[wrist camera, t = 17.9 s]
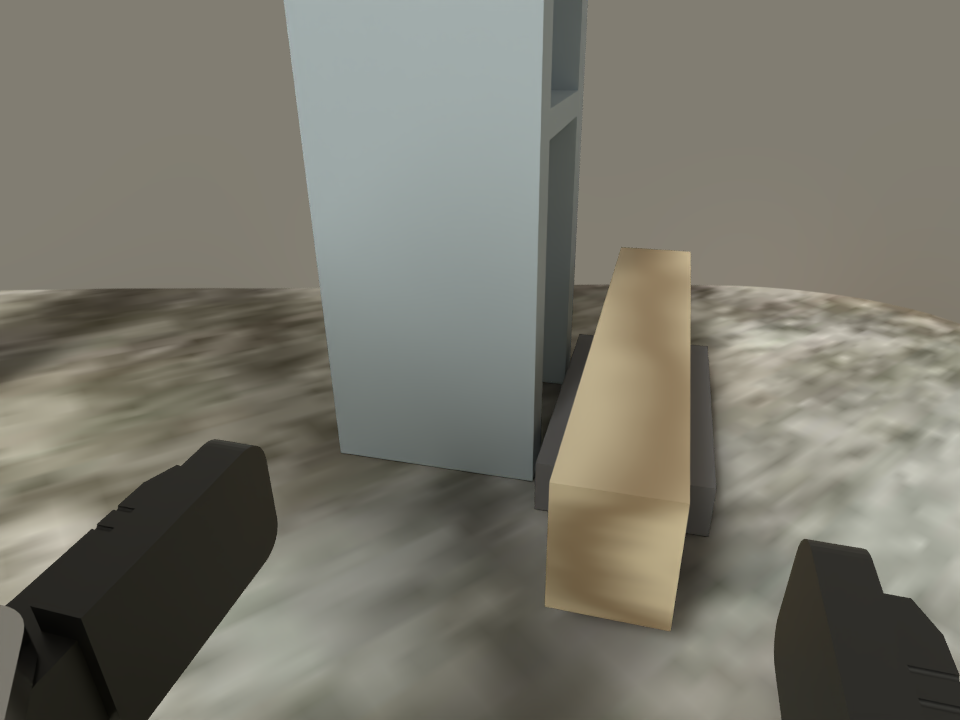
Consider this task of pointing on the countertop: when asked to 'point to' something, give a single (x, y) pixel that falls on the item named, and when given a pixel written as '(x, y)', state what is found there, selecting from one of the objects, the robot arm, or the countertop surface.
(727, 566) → the countertop surface
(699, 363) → the charcoal block
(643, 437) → the maple bar
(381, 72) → the slate stand
